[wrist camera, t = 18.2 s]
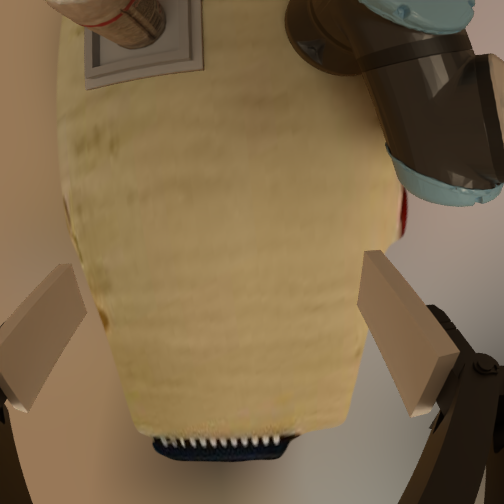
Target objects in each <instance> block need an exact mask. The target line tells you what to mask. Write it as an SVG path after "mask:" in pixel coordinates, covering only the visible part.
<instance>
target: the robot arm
mask: <svg viewBox="0 0 504 504" xmlns="http://www.w3.org/2000/svg"><path fill="white" fill-rule="evenodd" d="M474 5H475V0H290V2H289V4H288V7H287V10H286V13H285V29H286V33H287V36H288V39H289V41H290V43H291V44H292V46H293V48H294V49H295V50H296V52H297V53H298V54H299V55H300V56H301V57H302V58H303V59H304V60H305V61H306V62H308V63H309V64H310V65H312V66H313V67H315V68H317V69H319V70H321V71H323V72H326V73H329V74H333V75H338V76H356V75H360V74H362V75H363V78H364V80H365V83H366V85H367V88H368V90H369V93H370V96H371V98H372V101H373V104H374V107H375V110H376V113H377V115H378V118H379V121H380V124H381V127H382V130H383V134H384V137H385V140H386V143H385V146H386V150H387V152H388V154H389V155H390V157H391V159H392V162H393V165H394V168H395V171H396V174H397V177H398V179H399V181H400V182H401V184H402V185H404V187H405V188H406V189H407V190H408V191H409V192H410V193H412V194H413V195H415V196H417V197H418V198H420V199H423V200H425V201H428V202H431V203H435V204H440V205H446V206H457V207H459V206H460V207H463V206H473V205H474V204H475V202H478V203H481V204H484V203H487V202H489V201H491V200H493V199H495V198H496V197H497V196H498V195H499V194H500V192H501V190H502V187H503V184H504V61H502V60H501V59H500V58H498V57H497V56H496V55H494V54H483V55H475V54H474V51H473V50H470V49H472V46H471V43H470V40H469V38H468V35H467V32H466V30H465V28H466V26H467V25H468V23H469V22H470V21H471V19H472V18H473V15H474V11H473V9H472V7H473V6H474ZM357 306H358V308H359V310H360V312H361V314H362V316H363V318H364V320H365V322H366V324H367V326H368V328H369V330H370V331H371V333H372V336H373V338H374V339H375V342H376V344H377V346H378V348H379V350H380V352H381V354H382V356H383V359H384V361H385V362H386V365H387V367H388V369H389V371H390V374H391V376H392V378H393V380H394V382H395V384H396V387H397V389H398V391H399V393H400V395H401V398H402V400H403V402H404V404H405V407H406V409H407V411H408V414H409V416H410V418H411V417H414V416H418V415H422V414H426V413H429V412H430V410H431V409H432V407H433V405H434V404H435V402H437V404H438V406H439V408H440V411H439V413H438V414H437V416H436V418H435V419H434V421H433V422H432V424H431V426H430V427H429V428H430V429H432V430H431V433H430V435H429V438H428V440H427V443H426V445H425V448H424V450H423V452H422V455H421V457H420V459H419V461H418V464H417V466H416V468H415V470H414V473H413V475H412V477H411V479H410V481H409V483H408V485H407V487H406V489H405V491H404V493H403V495H402V496H401V499H400V500H399V502H398V504H474V503H475V499H476V497H477V494H478V491H479V487H480V484H481V481H482V477H483V474H484V470H485V466H486V483H485V498H484V504H504V366H499V364H498V362H497V361H496V360H495V359H493V358H492V357H491V356H489V355H487V354H483V353H475V351H474V350H473V349H472V347H471V346H470V345H469V343H468V342H467V341H466V339H465V338H464V337H463V335H462V334H461V333H460V331H459V330H458V329H456V327H455V325H454V324H453V322H451V320H450V319H449V317H448V316H447V315H446V314H445V312H444V311H442V310H441V309H439V308H438V307H436V306H435V305H425V304H424V302H423V301H422V300H421V299H420V298H419V296H418V295H417V294H416V292H415V291H414V290H413V289H412V287H411V286H410V285H409V284H408V282H407V281H406V280H405V279H404V278H403V276H402V275H401V274H400V273H399V271H398V270H397V269H396V268H395V267H394V266H393V264H392V263H391V262H390V261H389V260H388V258H387V257H386V256H385V255H384V254H383V253H382V251H381V250H374V251H364V259H363V267H362V274H361V282H360V289H359V295H358V302H357ZM86 314H87V311H86V308H85V305H84V303H83V300H82V297H81V294H80V290H79V287H78V284H77V281H76V278H75V275H74V271H73V268H72V264H59V265H58V266H57V267H56V268H55V269H54V270H53V271H52V272H51V273H50V274H49V275H48V276H47V277H46V278H45V279H44V280H43V281H42V282H41V283H40V284H39V285H38V286H37V287H36V288H35V289H34V291H33V292H32V293H31V294H30V295H29V296H28V297H27V298H26V299H25V300H24V301H23V302H22V304H21V305H20V306H19V307H18V308H17V309H16V310H15V311H14V312H13V314H12V315H11V316H10V317H9V318H8V319H7V321H5V322H4V323H3V324H2V325H1V326H0V504H33V503H32V501H31V497H30V494H29V492H28V489H27V486H26V483H25V479H24V476H23V473H22V469H21V466H20V462H19V458H18V454H17V451H16V446H15V442H14V438H13V433H12V428H11V423H10V418H9V412H8V409H7V407H6V406H5V404H4V403H5V401H6V399H8V400H9V401H10V403H11V404H12V406H13V407H14V408H15V409H17V410H21V411H24V412H27V413H28V412H29V411H30V409H31V407H32V405H33V403H34V401H35V399H36V397H37V395H38V394H39V392H40V390H41V388H42V386H43V384H44V383H45V381H46V379H47V377H48V376H49V374H50V372H51V371H52V369H53V367H54V365H55V363H56V362H57V360H58V358H59V357H60V355H61V354H62V352H63V350H64V349H65V347H66V345H67V344H68V342H69V340H70V338H71V337H72V336H73V334H74V333H75V331H76V329H77V327H78V326H79V325H80V323H81V322H82V320H83V318H84V317H85V315H86Z"/></svg>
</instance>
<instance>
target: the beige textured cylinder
mask: <svg viewBox="0 0 504 504" xmlns="http://www.w3.org/2000/svg"><path fill="white" fill-rule="evenodd" d="M45 1H46V2H47V4H48V5H49V6H50V7H52V8H53V9H55V10H56V11H58V12H60V13H61V14H63V15H64V16H66V17H67V18H69V19H71V20H72V21H74V22H75V23H77V24H79V25H81V26H84V27H86V28H88V29H89V30H91V31H93V32H95V33H97V34H99V35H101V36H103V37H105V38H106V39H108V40H110V41H112V42H114V43H117V44H118V45H119V46H120V47H123V48H126V49H137V48H143V47H146V46H148V45H151V44H153V43H154V42H155V41H156V40H157V39H158V38H159V37H160V36H161V34H162V33H163V32H164V30H165V25H166V17H165V13H164V9H163V7H162V5H161V4H160V3H159V1H158V0H45Z"/></svg>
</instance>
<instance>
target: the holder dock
mask: <svg viewBox="0 0 504 504" xmlns="http://www.w3.org/2000/svg"><path fill="white" fill-rule="evenodd" d="M158 1H159V3H160V4H161V5H162V7H163V9H164V13H165V17H166V25H165V30H164V32H163V33H162V34H161V36H160V37H159V38H158V39H157V40H156V41H155V42H154V43H153V44H151V45H148V46H146V47H143V48H137V49H126V48H123V47H120V46H119V45H118V44H117V43H114V42H112V41H110V40H108V39H106V38H105V37H103V36H101V35H99V34H97V33H95V32H93V31H91V30H89V29H88V28H86V27H85V44H84V56H85V87H86V90H92V89H96V88H100V87H104V86H109V85H113V84H118V83H122V82H127V81H132V80H138V79H143V78H149V77H155V76H161V75H168V74H175V73H183V72H191V71H200V70H204V61H203V33H202V0H158Z"/></svg>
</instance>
